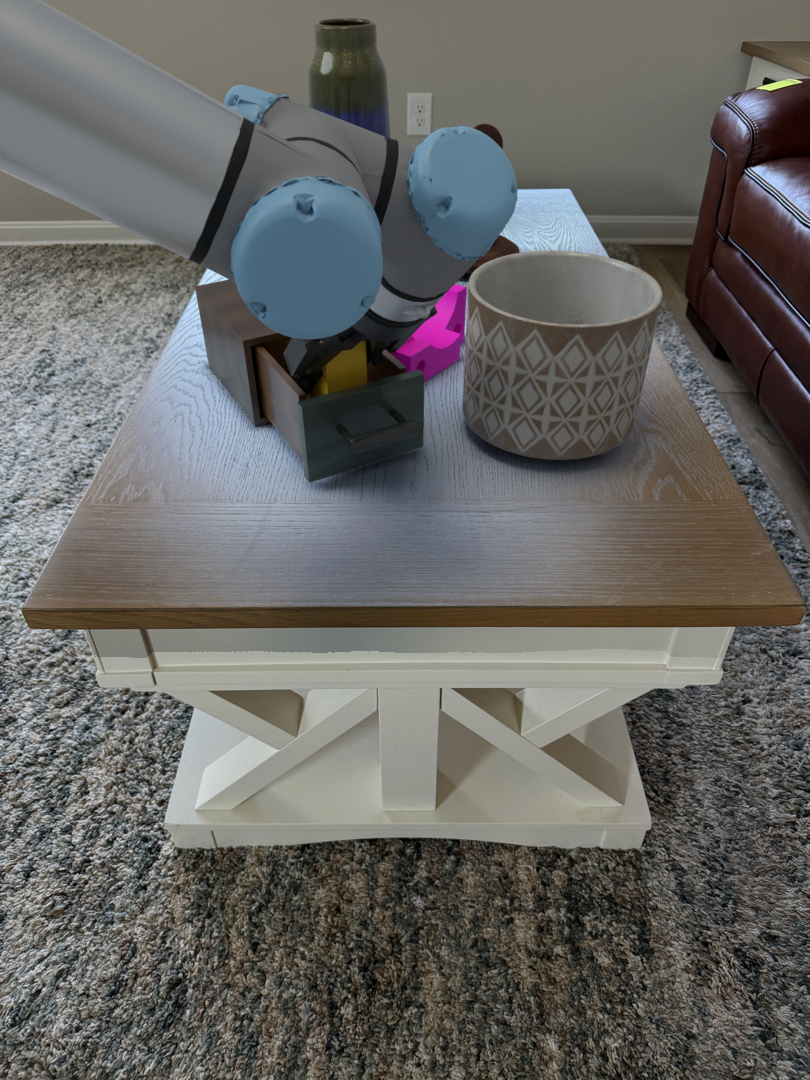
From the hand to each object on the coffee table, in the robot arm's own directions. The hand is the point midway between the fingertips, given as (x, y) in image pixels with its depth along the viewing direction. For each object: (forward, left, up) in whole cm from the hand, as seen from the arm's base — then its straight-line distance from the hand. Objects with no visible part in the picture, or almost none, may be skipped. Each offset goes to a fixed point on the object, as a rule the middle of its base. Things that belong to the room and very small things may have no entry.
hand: (323, 377), depth 85 cm
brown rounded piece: (+41, +33, -6) cm, 53 cm away
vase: (+31, +56, -6) cm, 65 cm away
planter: (+22, -12, -6) cm, 26 cm away
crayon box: (0, -4, -3) cm, 5 cm away
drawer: (0, -5, -5) cm, 7 cm away
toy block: (+18, +8, -6) cm, 21 cm away
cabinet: (0, +12, -6) cm, 14 cm away
